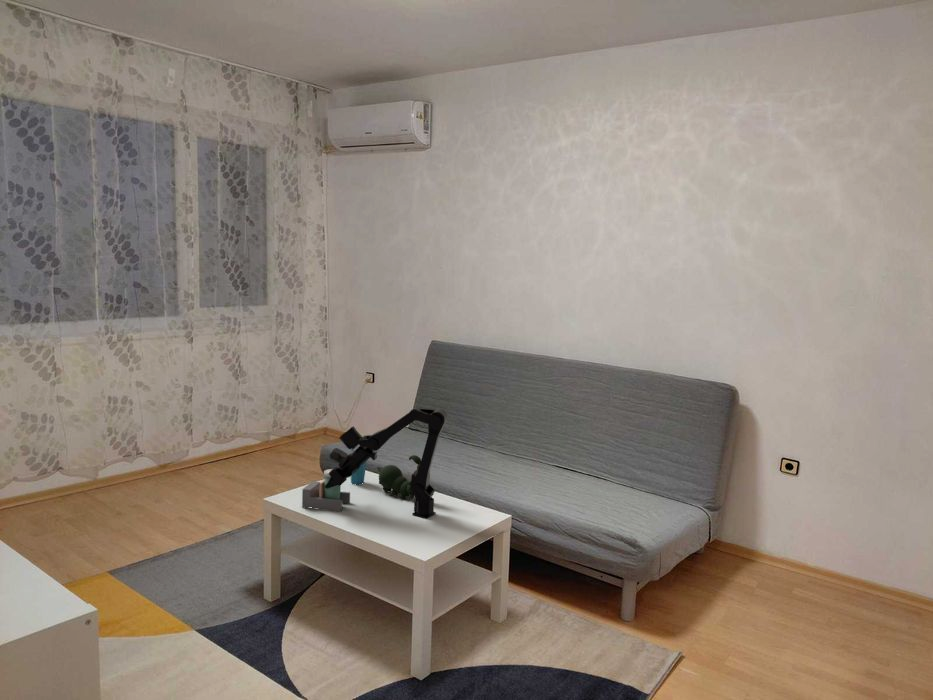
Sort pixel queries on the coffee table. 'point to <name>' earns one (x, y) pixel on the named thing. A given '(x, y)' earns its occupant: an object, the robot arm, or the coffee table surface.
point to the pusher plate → (321, 489)
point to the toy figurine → (396, 479)
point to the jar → (333, 491)
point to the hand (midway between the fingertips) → (328, 485)
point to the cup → (358, 474)
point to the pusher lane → (312, 498)
